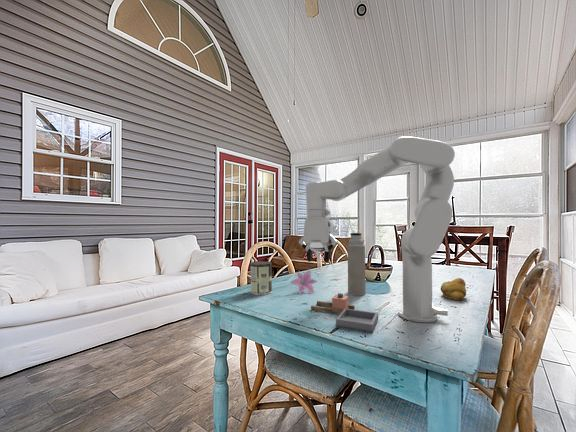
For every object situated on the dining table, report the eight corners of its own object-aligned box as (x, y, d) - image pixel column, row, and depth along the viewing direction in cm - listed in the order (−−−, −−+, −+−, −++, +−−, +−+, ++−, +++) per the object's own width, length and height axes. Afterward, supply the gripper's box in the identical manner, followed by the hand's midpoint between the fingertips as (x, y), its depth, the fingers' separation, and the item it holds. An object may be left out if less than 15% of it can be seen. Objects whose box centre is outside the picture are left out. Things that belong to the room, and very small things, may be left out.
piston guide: (354, 309, 109) (354, 305, 109) (348, 318, 99) (348, 313, 99) (317, 304, 115) (317, 300, 115) (308, 312, 106) (308, 308, 106)
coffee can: (262, 288, 142) (262, 260, 142) (276, 291, 135) (276, 262, 135) (246, 292, 135) (245, 262, 135) (260, 296, 128) (259, 265, 128)
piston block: (348, 309, 108) (348, 292, 108) (345, 313, 104) (345, 296, 104) (335, 307, 110) (335, 291, 110) (332, 311, 106) (332, 294, 106)
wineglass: (316, 269, 112) (315, 239, 113) (330, 271, 108) (329, 239, 108) (306, 272, 107) (305, 241, 107) (321, 274, 103) (319, 241, 103)
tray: (378, 320, 97) (378, 312, 97) (372, 332, 87) (372, 324, 87) (344, 315, 102) (344, 308, 102) (336, 326, 92) (335, 319, 92)
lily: (286, 294, 134) (289, 279, 130) (295, 280, 144) (298, 265, 140) (310, 303, 131) (314, 288, 127) (317, 288, 141) (321, 273, 137)
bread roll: (468, 303, 115) (467, 283, 115) (441, 300, 119) (440, 281, 119) (465, 295, 126) (464, 277, 126) (440, 292, 131) (440, 275, 131)
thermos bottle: (363, 290, 135) (362, 232, 135) (367, 295, 127) (366, 233, 127) (346, 290, 135) (345, 232, 135) (349, 295, 127) (349, 233, 127)
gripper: (341, 213, 107) (343, 260, 107) (300, 215, 115) (301, 259, 115) (335, 213, 101) (337, 264, 100) (292, 215, 108) (293, 262, 108)
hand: (318, 261), depth 108 cm, fingers closed on wineglass, 6 cm apart
